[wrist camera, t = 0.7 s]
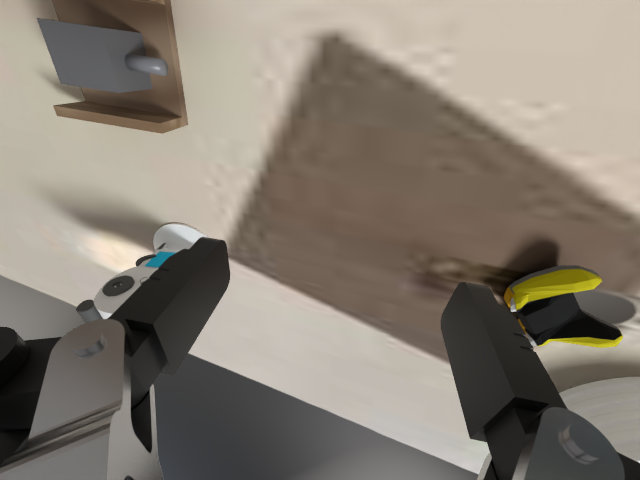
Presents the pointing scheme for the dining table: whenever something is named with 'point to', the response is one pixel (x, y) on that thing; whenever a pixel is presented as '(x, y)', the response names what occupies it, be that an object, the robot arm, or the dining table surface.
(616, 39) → the dining table surface
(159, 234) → the panda figurine
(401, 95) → the dining table surface
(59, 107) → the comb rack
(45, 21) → the cord plug
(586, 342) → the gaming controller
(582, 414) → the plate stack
